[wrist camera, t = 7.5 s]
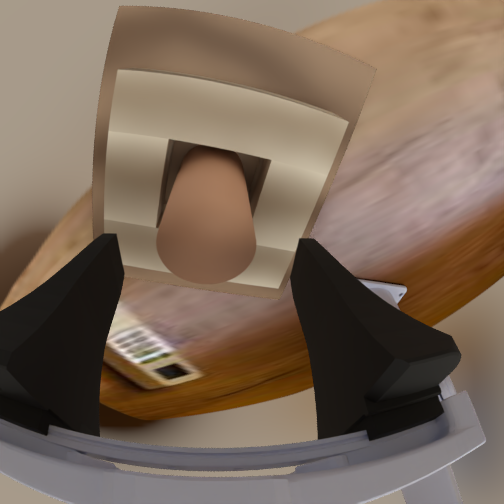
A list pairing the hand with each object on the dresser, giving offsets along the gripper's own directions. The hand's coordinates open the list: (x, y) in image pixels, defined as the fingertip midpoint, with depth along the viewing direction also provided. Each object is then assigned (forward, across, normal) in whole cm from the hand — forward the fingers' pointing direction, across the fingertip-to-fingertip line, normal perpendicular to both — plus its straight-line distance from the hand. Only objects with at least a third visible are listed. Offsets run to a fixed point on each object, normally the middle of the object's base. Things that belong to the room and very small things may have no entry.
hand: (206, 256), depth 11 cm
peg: (+8, 0, 0) cm, 8 cm away
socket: (+9, 0, 0) cm, 9 cm away
